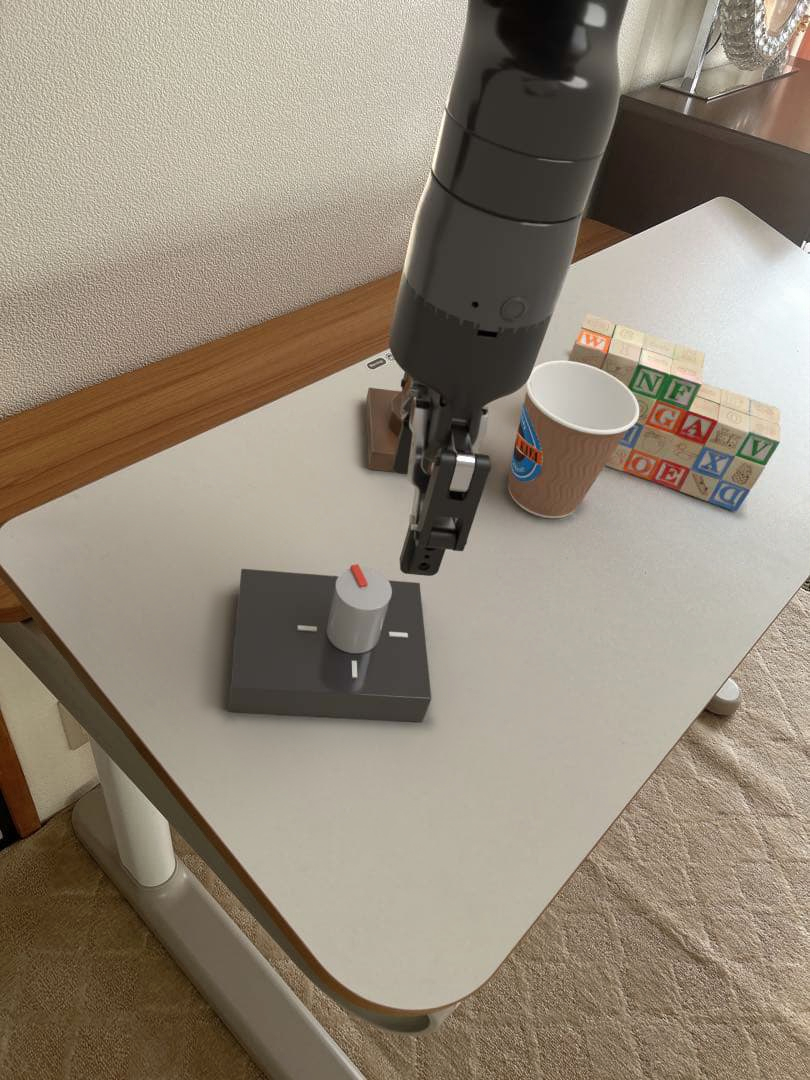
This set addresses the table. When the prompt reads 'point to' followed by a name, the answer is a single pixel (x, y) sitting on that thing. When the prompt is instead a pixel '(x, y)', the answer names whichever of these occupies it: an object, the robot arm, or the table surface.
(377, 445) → the button block
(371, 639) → the stove knob
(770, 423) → the stack of blocks
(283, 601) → the stove panel
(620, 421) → the coffee cup
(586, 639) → the table surface
